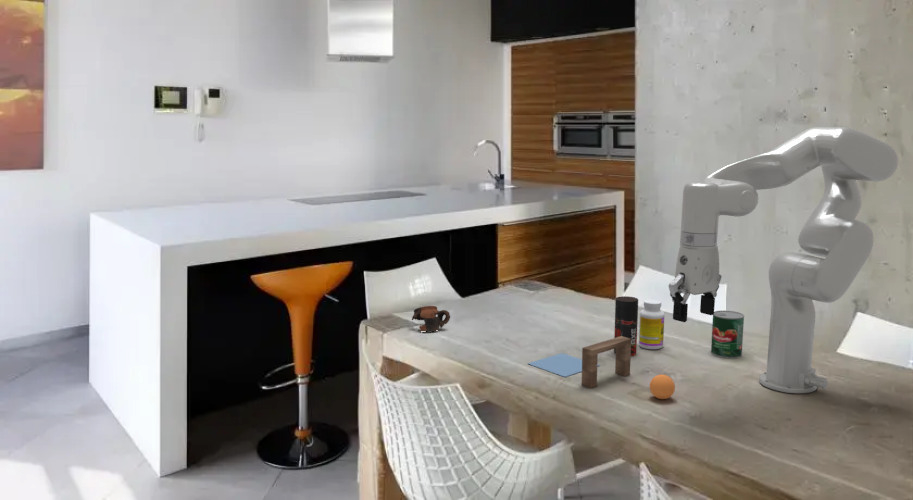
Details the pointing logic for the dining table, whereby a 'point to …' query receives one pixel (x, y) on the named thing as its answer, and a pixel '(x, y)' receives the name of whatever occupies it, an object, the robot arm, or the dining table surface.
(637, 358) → the dining table surface
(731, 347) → the canned tomato
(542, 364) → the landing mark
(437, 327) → the pottery mug
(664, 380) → the ball
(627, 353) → the bridge
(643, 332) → the supplement bottle
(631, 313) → the deodorant
